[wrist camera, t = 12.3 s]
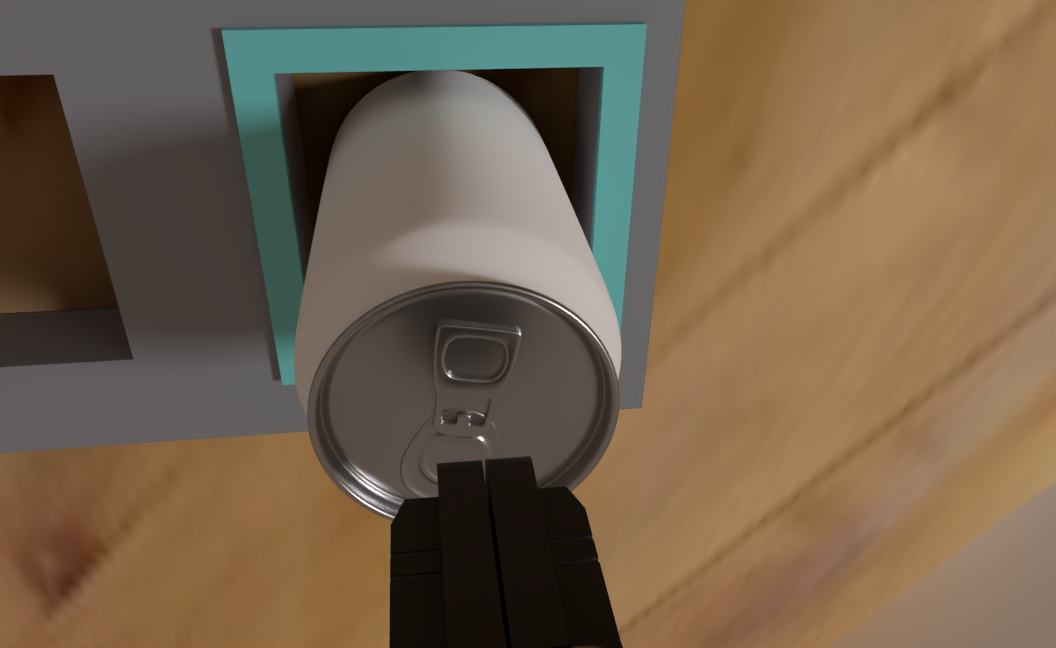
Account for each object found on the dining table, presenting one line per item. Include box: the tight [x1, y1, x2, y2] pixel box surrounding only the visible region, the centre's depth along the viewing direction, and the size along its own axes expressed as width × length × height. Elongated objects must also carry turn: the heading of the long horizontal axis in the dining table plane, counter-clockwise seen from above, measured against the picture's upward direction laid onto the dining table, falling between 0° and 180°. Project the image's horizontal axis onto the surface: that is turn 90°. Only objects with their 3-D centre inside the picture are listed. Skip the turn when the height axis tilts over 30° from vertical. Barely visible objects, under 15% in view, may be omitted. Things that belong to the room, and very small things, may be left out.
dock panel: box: [0, 0, 685, 453], centre depth 23 cm, size 14×25×3 cm, turn 89°
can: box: [294, 70, 621, 521], centre depth 20 cm, size 6×6×12 cm
